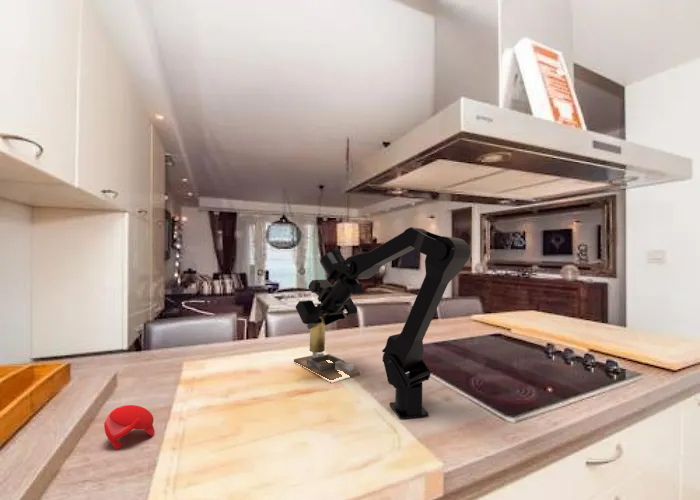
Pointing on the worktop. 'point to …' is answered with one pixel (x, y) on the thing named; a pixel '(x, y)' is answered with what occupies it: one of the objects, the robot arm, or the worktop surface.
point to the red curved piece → (127, 422)
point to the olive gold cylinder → (318, 336)
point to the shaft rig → (327, 365)
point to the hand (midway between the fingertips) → (314, 326)
